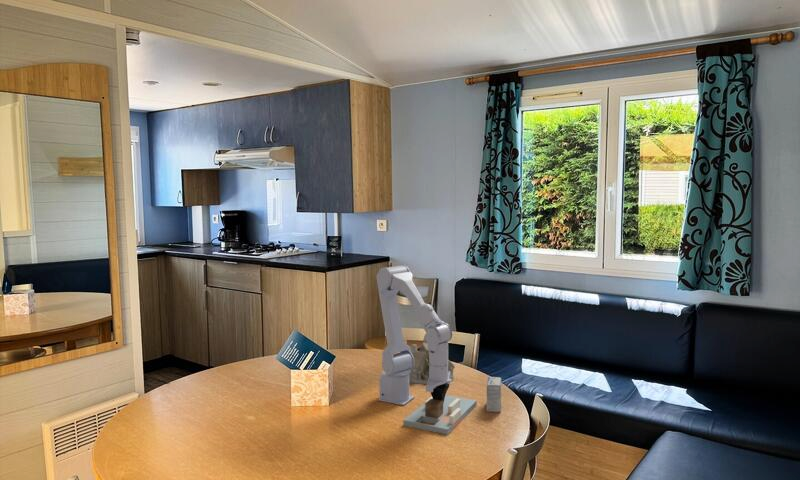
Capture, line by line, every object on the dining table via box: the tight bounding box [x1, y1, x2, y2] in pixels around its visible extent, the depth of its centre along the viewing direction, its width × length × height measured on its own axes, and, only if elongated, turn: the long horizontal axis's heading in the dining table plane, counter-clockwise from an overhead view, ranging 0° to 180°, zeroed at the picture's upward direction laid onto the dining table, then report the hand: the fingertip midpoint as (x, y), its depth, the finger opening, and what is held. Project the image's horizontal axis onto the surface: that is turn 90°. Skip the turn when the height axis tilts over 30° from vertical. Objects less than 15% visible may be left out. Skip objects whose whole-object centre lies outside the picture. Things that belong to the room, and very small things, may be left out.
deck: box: [403, 394, 478, 436], centre depth 171 cm, size 14×24×4 cm, turn 153°
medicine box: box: [486, 376, 503, 413], centre depth 176 cm, size 8×4×9 cm, turn 168°
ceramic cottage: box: [409, 335, 456, 385], centre depth 203 cm, size 16×16×15 cm
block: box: [424, 399, 443, 419], centre depth 167 cm, size 4×4×4 cm
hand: (438, 407), depth 170 cm, fingers closed
